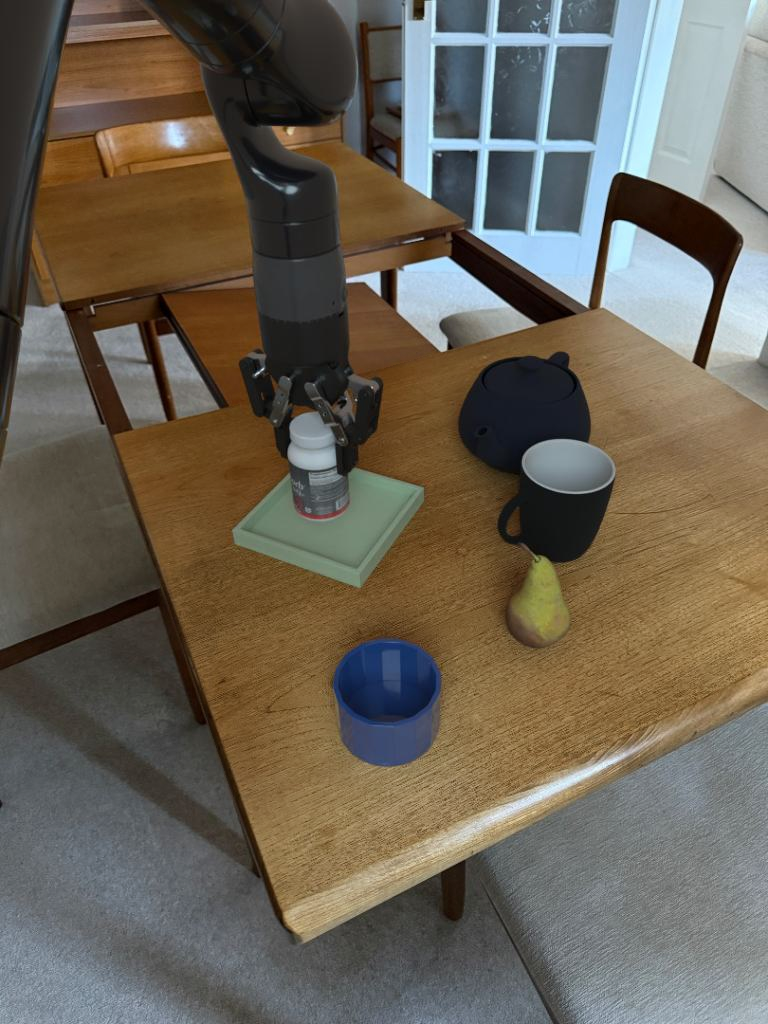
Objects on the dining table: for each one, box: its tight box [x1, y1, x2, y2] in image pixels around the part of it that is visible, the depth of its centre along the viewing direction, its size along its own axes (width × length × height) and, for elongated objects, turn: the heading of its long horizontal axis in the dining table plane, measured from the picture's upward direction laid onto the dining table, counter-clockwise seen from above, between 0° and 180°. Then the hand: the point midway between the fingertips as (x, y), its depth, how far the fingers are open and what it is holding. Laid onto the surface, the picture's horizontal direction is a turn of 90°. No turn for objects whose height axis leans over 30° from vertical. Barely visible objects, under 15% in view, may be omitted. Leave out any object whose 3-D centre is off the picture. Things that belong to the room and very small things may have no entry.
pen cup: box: [332, 637, 442, 768], centre depth 60 cm, size 8×8×6 cm
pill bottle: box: [287, 411, 350, 522], centre depth 72 cm, size 6×6×10 cm
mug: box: [496, 439, 617, 563], centre depth 74 cm, size 12×9×10 cm
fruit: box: [505, 542, 572, 650], centre depth 64 cm, size 6×6×12 cm
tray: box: [231, 467, 425, 589], centre depth 80 cm, size 15×15×2 cm
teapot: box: [457, 350, 592, 476], centre depth 86 cm, size 25×16×12 cm, turn 148°
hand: (318, 462), depth 72 cm, fingers closed on pill bottle, 5 cm apart
